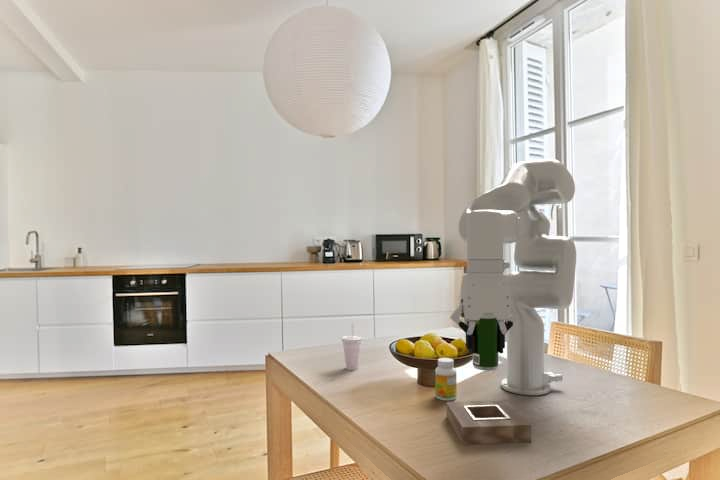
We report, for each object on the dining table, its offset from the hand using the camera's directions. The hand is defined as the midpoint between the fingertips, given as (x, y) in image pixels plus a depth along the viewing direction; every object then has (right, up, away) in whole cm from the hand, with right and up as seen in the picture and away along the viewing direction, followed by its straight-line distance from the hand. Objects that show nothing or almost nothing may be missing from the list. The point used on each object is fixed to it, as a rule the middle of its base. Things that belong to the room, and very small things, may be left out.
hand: (485, 351), depth 102 cm
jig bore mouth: (0, -13, +1) cm, 13 cm away
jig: (0, -17, +1) cm, 17 cm away
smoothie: (-29, -17, +47) cm, 58 cm away
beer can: (0, -4, 0) cm, 4 cm away
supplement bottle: (-5, -17, +20) cm, 27 cm away
